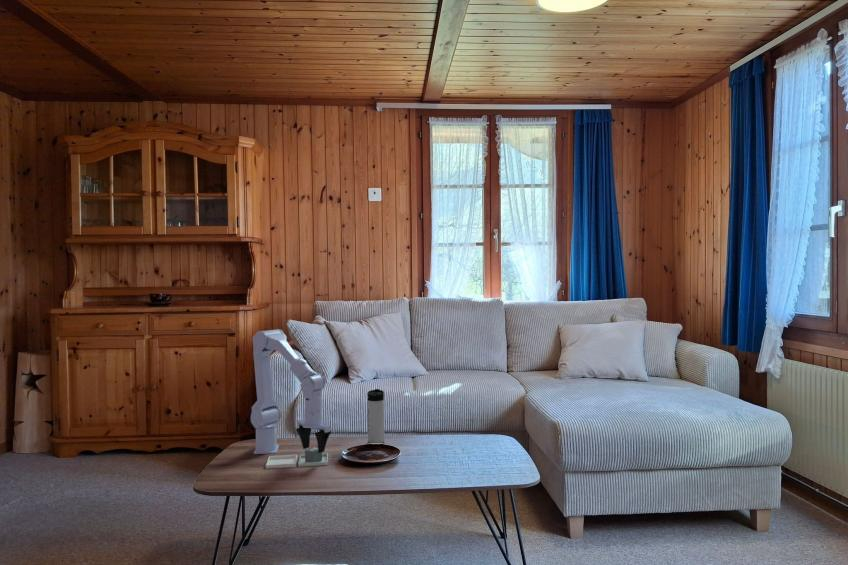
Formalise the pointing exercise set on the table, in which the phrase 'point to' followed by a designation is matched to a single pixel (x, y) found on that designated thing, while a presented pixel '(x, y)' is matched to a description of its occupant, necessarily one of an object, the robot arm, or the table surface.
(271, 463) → the tray
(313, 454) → the letter cube
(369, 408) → the travel mug
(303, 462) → the tray
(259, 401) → the robot arm
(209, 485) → the table surface
